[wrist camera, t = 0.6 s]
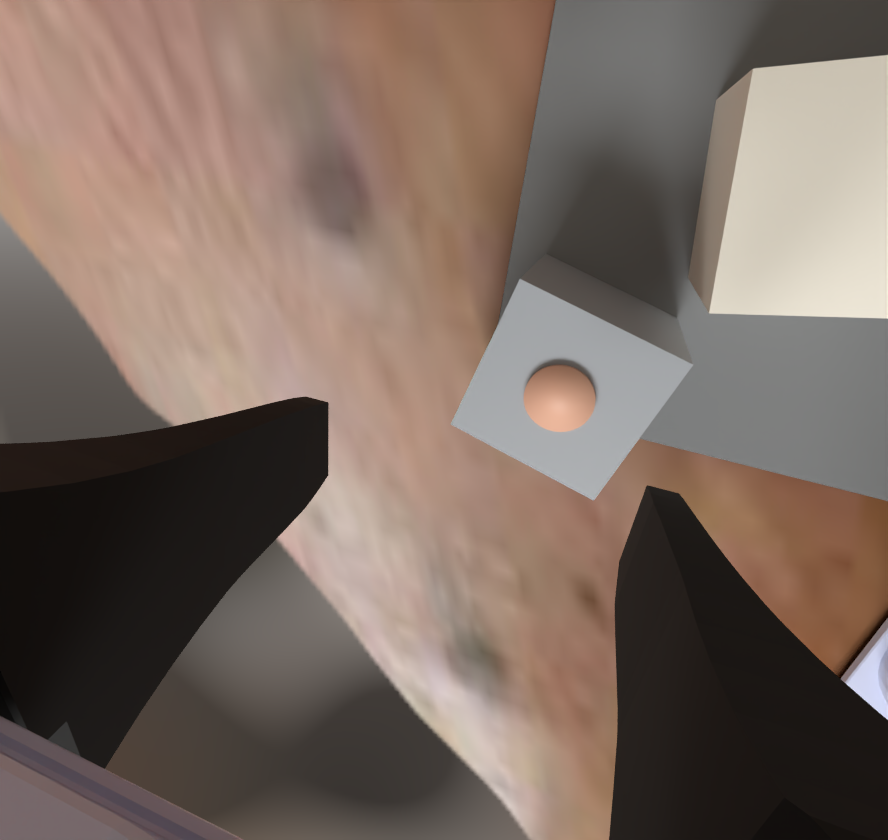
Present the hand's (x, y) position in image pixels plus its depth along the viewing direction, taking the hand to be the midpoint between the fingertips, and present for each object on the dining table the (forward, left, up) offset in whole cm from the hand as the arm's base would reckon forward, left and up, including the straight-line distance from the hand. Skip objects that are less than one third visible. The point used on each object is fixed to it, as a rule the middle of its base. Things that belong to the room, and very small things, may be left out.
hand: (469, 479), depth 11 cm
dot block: (-1, -1, -10) cm, 10 cm away
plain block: (-6, -7, -10) cm, 13 cm away
